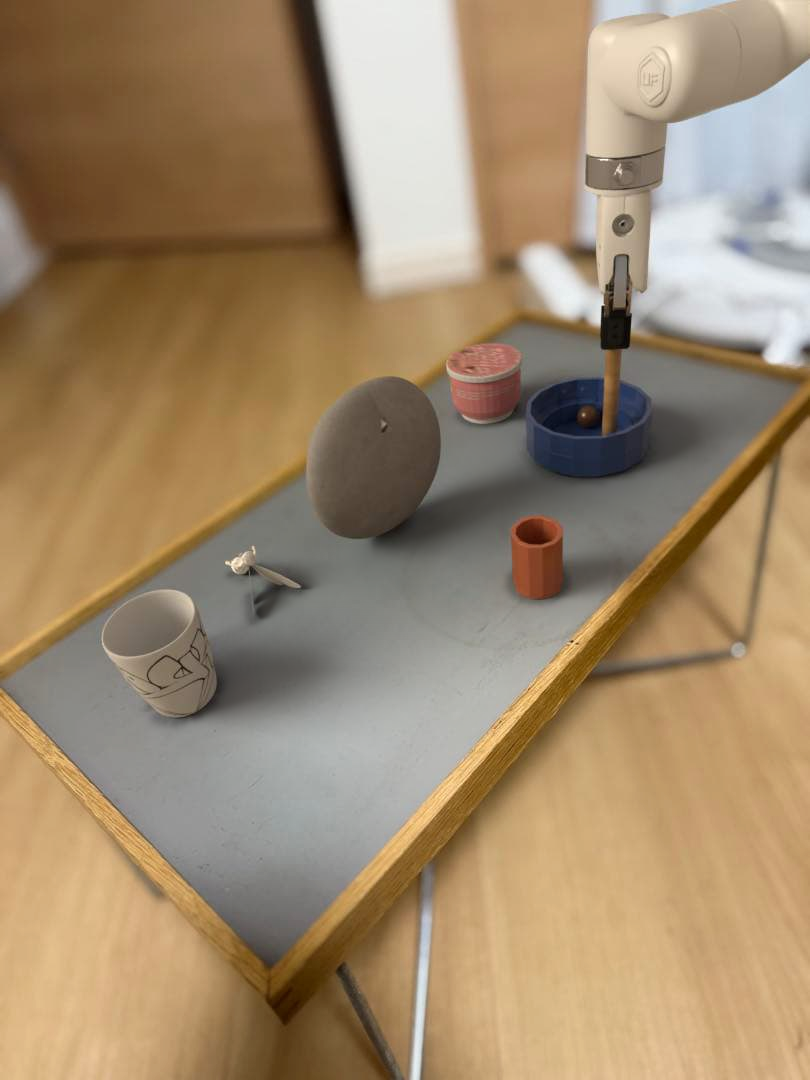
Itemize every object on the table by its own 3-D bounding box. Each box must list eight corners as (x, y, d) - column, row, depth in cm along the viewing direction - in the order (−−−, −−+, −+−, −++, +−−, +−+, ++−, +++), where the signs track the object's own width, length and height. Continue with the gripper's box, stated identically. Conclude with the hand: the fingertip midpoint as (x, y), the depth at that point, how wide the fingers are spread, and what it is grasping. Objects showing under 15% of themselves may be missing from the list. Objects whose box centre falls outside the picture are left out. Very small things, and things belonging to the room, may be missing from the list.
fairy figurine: (254, 546, 83) (267, 533, 77) (285, 595, 83) (301, 587, 77) (209, 572, 80) (219, 561, 74) (242, 623, 81) (254, 617, 74)
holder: (562, 567, 75) (563, 515, 70) (561, 600, 71) (562, 548, 67) (515, 566, 76) (512, 515, 72) (512, 598, 72) (509, 547, 68)
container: (477, 387, 108) (473, 338, 103) (537, 401, 102) (536, 349, 97) (437, 419, 102) (431, 369, 97) (498, 435, 96) (495, 383, 91)
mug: (126, 668, 72) (85, 599, 66) (203, 629, 75) (170, 560, 69) (156, 744, 64) (112, 674, 58) (241, 698, 67) (208, 626, 61)
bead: (599, 421, 91) (598, 432, 94) (601, 401, 92) (600, 413, 95) (575, 420, 92) (575, 431, 94) (578, 400, 93) (578, 412, 95)
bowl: (644, 415, 95) (647, 375, 92) (652, 480, 84) (656, 437, 80) (530, 417, 99) (529, 379, 95) (524, 480, 88) (522, 439, 84)
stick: (616, 431, 90) (624, 292, 78) (616, 438, 88) (625, 298, 77) (601, 431, 90) (607, 293, 79) (601, 438, 89) (608, 299, 78)
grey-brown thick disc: (425, 480, 91) (406, 343, 79) (464, 500, 86) (450, 359, 74) (311, 553, 82) (269, 413, 71) (347, 579, 78) (310, 434, 66)
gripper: (670, 187, 63) (653, 374, 75) (657, 147, 75) (644, 314, 86) (584, 195, 65) (580, 376, 77) (585, 154, 77) (581, 317, 88)
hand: (614, 342), depth 81 cm, fingers closed on stick, 1 cm apart
